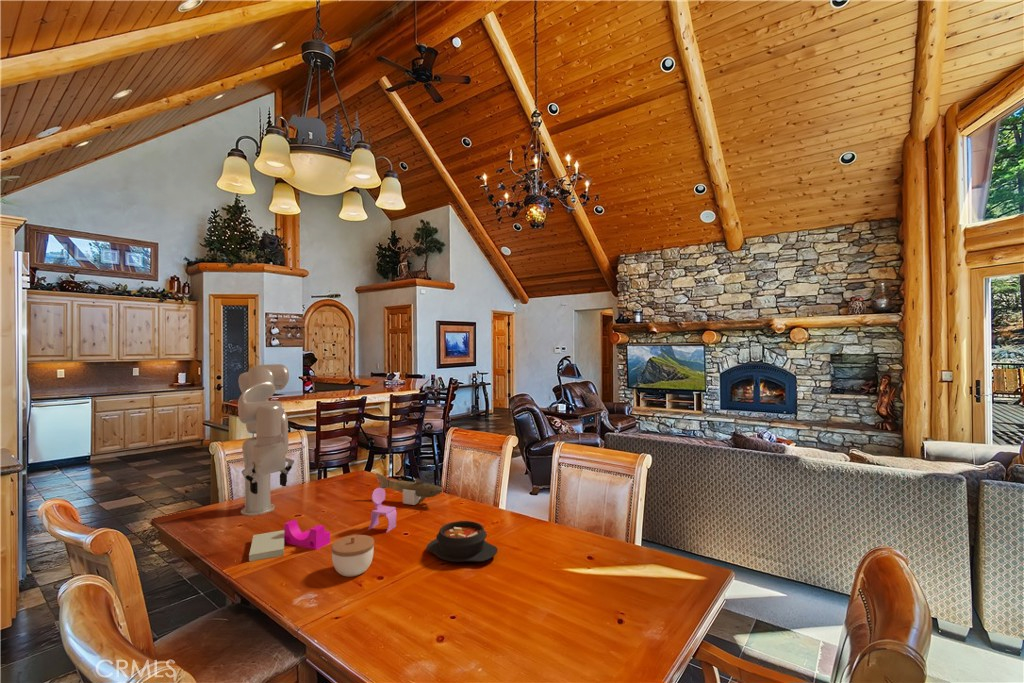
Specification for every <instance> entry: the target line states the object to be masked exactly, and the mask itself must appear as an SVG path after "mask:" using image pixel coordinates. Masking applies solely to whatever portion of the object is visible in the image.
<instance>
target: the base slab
mask: <svg viewBox="0 0 1024 683" xmlns="http://www.w3.org/2000/svg"><path fill="white" fill-rule="evenodd" d="M284 553H285V543H284V529H282V530H277V531H270V532H263V533H257V534H253V536H252V541H251V545H250V550H249V554H248V562H255V561H260V560H266V559H274V558H280V557H283V556H284V555H285V554H284Z"/></svg>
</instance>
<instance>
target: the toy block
mask: <svg viewBox="0 0 1024 683" xmlns="http://www.w3.org/2000/svg"><path fill="white" fill-rule="evenodd" d="M283 526H284V527H283V528H284V529H283V530H284V544H288V545H294V546H298V547H303V548H306V549H311V550H314V551H317V550H319V549H321V548H323V547H325V546H326V545H328V543H329V544H330V543H331V532H330V531H328V530H325V525H321V524H318V525H315V526H313V527H312V528H310V529H307V530H306V531H303V530H301V528H300V526H299V523H298V520H296V519H295V520H294V519H292V520H289V521H288V522H285V523H284V525H283Z"/></svg>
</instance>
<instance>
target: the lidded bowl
mask: <svg viewBox="0 0 1024 683" xmlns="http://www.w3.org/2000/svg"><path fill="white" fill-rule="evenodd" d="M330 547H331V559H332V565H333V567H334V569H335V571H336V572H337V573H338V574H340V575H341V576H343V577H349V578H351V577H356V576H359V575H362V574H363V573H365V572H366V571H367V569H368V568H369V567H370V565H371V563H372V562H373V558H374V552H375V550H374V547H375V539H374V537H372V536H370V535H366V534H354V535H353V534H352V535H348V536H344V537H342V538H339V539H337V540H336V541H334V542H333V543H332V544H331V546H330Z"/></svg>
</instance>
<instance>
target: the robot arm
mask: <svg viewBox="0 0 1024 683" xmlns="http://www.w3.org/2000/svg"><path fill="white" fill-rule="evenodd" d="M289 379H290V373H289V369H288V367H287V366H286V365H284V364H282V363H278V364H277V363H275V364H273V363H272V364H257V365H254V366H252V367H251V368H250V369H249V370H248V371H246V372H243V373H240V374H239V377H238V387H239V389H240V392H241V394H240V395H239V398H238V402H237V411H238V412H237V413H238V420H239V421H240V422H241V423H242V424H245V427H246V431H247V432H248V433H249V434H253V435H255V434H256V436H252V437H248V438H247V439H245V440H244V441H243V442H242V446H241V448H242V450H241V451H242V455H243V463H244V469H242V470H241V474H242V476H243V477H244V508H242V509H241V510H240V514H241V515H242V516H258V514H260V515H264V514H267V512H268V513H270V512H272V511H274V509H275V504H273V503H271V474H274V473H277V472H280V473H279V485H280V486H282V487H287V482H288V475H289V472H290V471H291V469H292V468H293V465H294V463H295V460H294V459H292V458H288V457H286V455H287V454H288V452H289V421H288V420H289V419H288V414H287V412H286V411H285V406H284V404H282V402H281V401H280V400H279V401H278V400H269V399H271V398H272V397H273V395H275V393H276V391H281V390H284V389H285V388H286V386H287V384H288V383H289ZM286 464H287V465H286Z"/></svg>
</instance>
